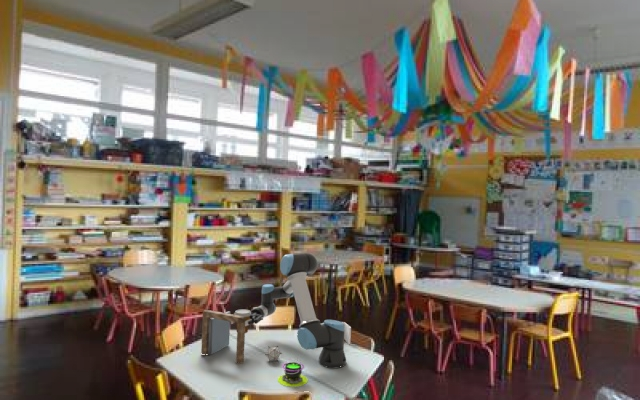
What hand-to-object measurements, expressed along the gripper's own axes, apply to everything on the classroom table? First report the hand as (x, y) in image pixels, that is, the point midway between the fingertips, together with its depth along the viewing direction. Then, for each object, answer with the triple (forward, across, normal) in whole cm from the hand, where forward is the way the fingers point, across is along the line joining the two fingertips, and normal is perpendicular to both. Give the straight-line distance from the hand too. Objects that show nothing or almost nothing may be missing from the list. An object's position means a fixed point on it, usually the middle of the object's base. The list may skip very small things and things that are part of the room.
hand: (237, 322), depth 261 cm
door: (+1, +12, -17) cm, 21 cm away
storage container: (-44, -38, -18) cm, 61 cm away
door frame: (+10, +3, -18) cm, 21 cm away
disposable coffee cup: (-5, 0, -7) cm, 8 cm away
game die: (-1, -23, -18) cm, 29 cm away
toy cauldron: (+15, -44, -18) cm, 50 cm away
